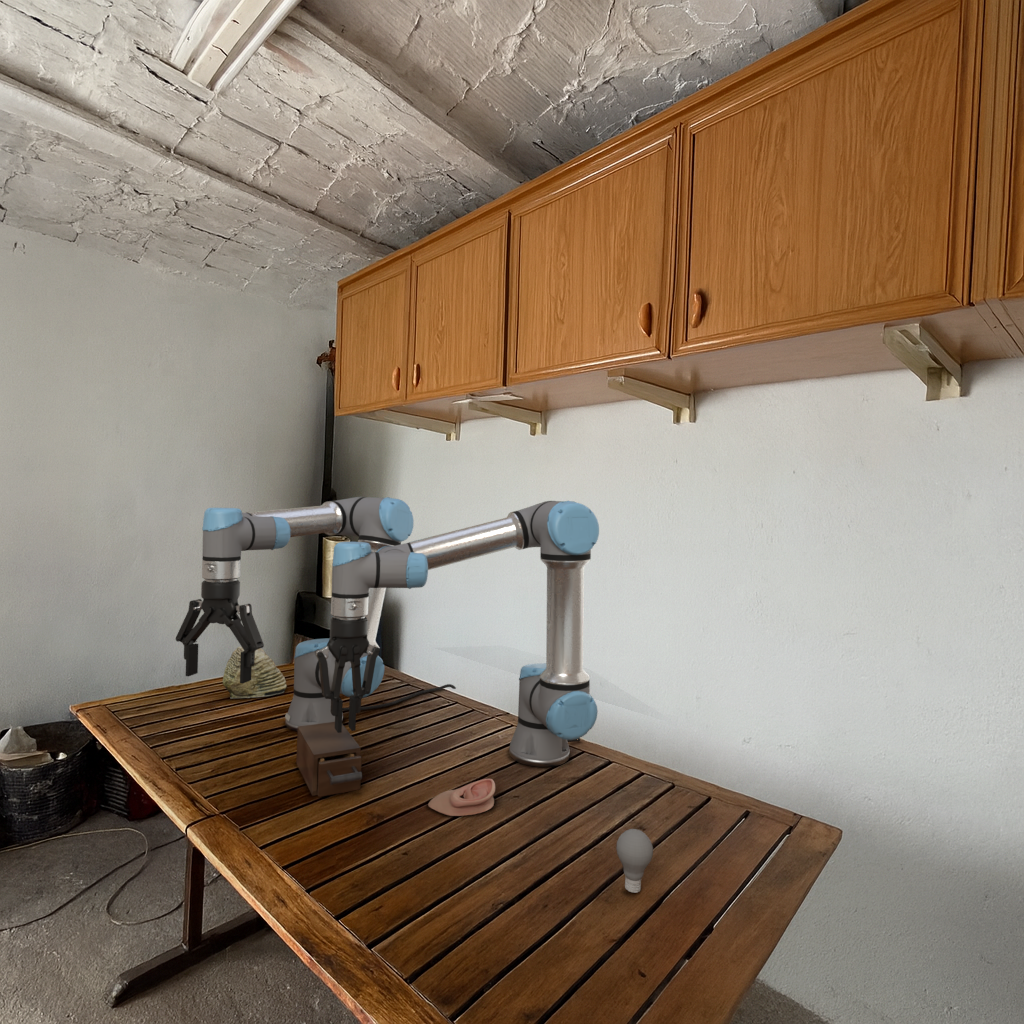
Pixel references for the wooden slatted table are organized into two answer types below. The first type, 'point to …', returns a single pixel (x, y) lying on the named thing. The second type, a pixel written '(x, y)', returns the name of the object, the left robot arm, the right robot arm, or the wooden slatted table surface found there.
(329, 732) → the cabinet
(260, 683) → the fossil
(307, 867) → the wooden slatted table surface
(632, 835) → the light bulb
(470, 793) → the anatomical model
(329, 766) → the drawer
